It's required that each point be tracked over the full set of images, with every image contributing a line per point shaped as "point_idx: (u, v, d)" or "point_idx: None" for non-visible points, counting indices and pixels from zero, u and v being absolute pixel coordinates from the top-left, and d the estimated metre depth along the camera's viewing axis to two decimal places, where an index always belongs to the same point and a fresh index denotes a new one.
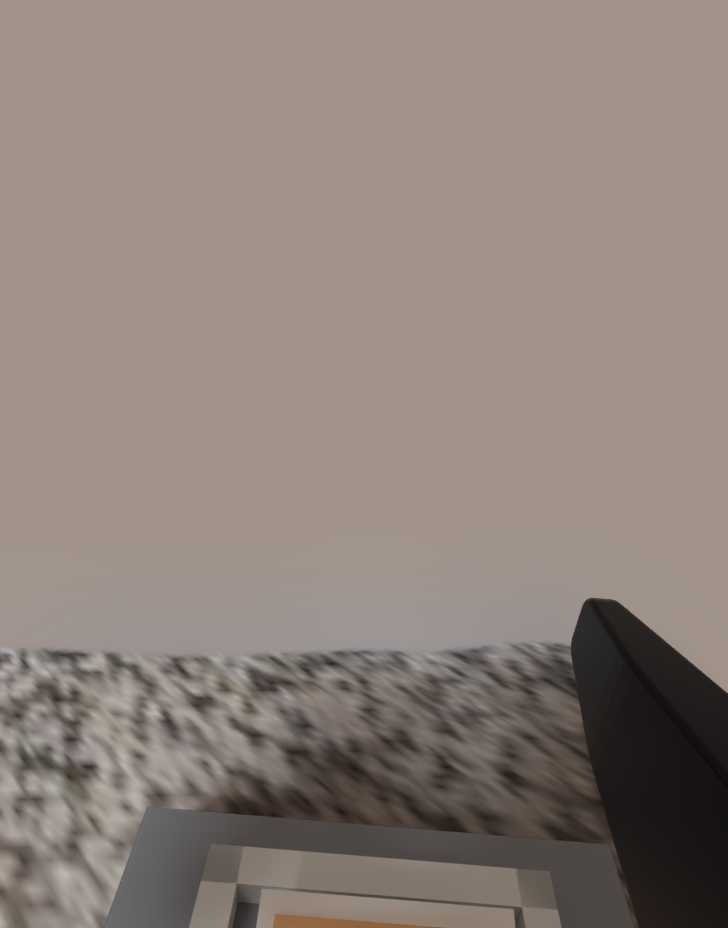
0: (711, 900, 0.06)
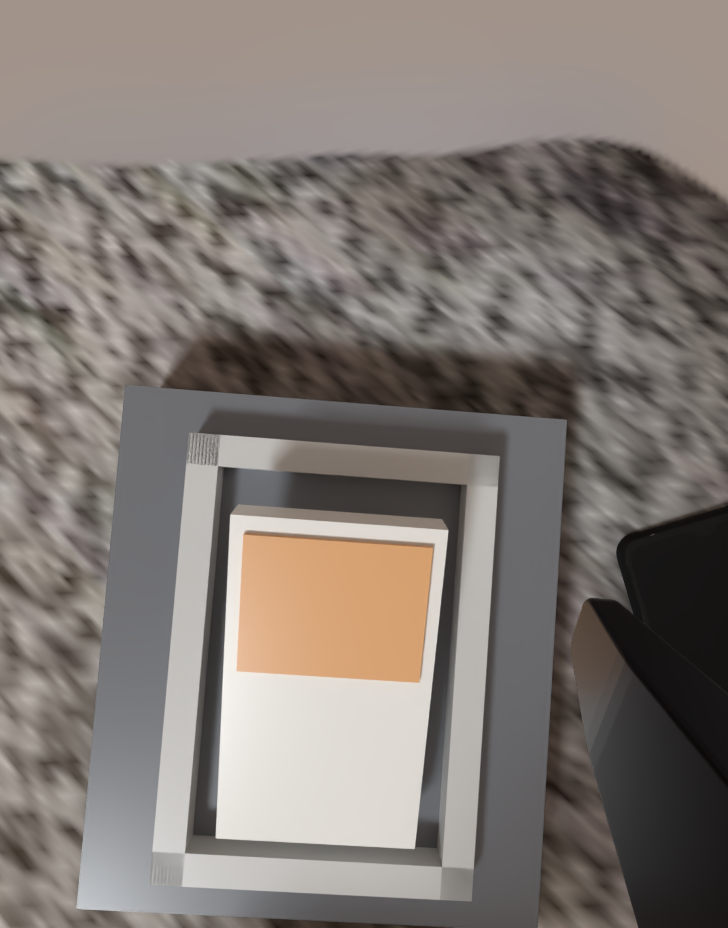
0: (711, 900, 0.06)
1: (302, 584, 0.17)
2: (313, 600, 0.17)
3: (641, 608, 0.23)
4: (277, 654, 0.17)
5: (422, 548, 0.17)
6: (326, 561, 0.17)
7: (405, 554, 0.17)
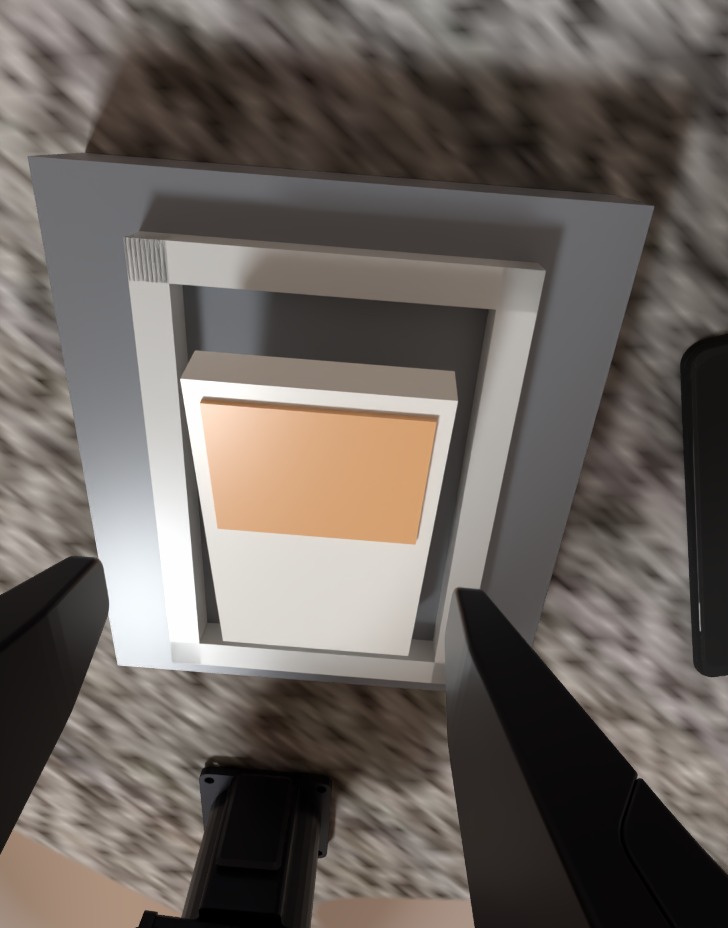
0: (511, 883, 0.06)
1: (278, 455, 0.14)
2: (293, 470, 0.14)
3: (694, 425, 0.20)
4: (259, 516, 0.15)
5: (423, 421, 0.13)
6: (304, 433, 0.14)
7: (401, 428, 0.13)
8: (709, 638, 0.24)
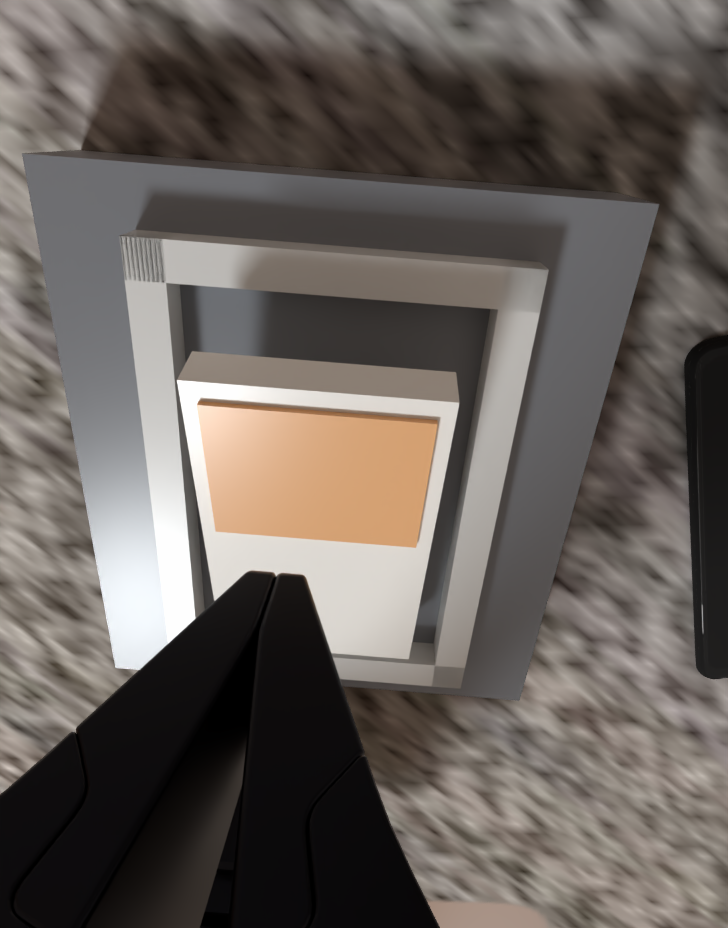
0: None
1: (277, 457, 0.14)
2: (292, 473, 0.14)
3: (698, 426, 0.20)
4: (257, 519, 0.15)
5: (424, 423, 0.13)
6: (303, 436, 0.13)
7: (402, 430, 0.13)
8: (713, 640, 0.24)
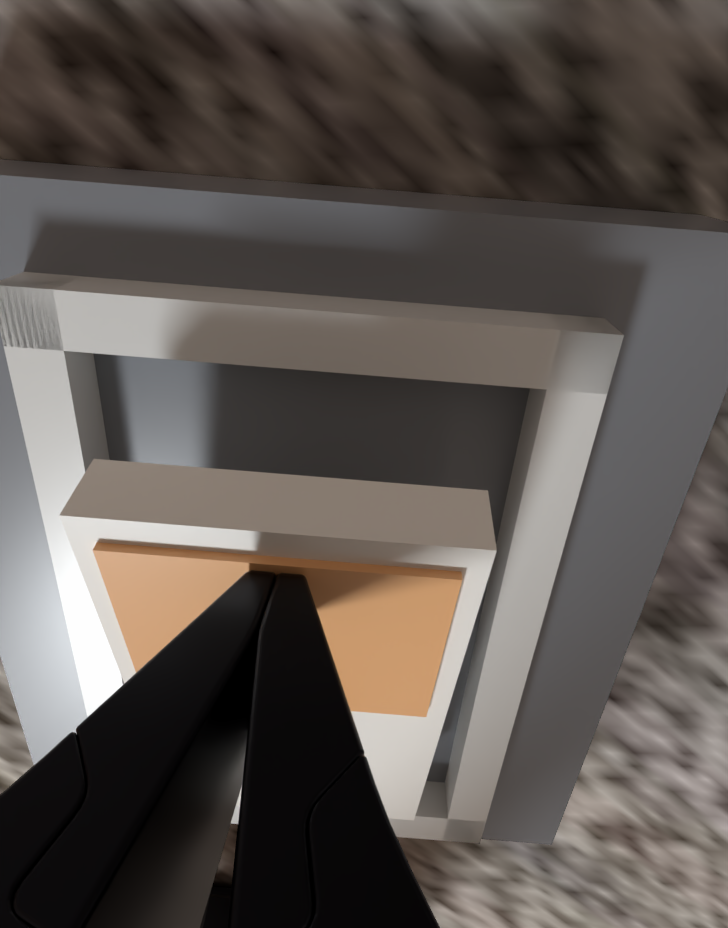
0: None
1: None
2: None
3: None
4: None
5: (441, 576, 0.09)
6: None
7: (407, 586, 0.09)
8: None
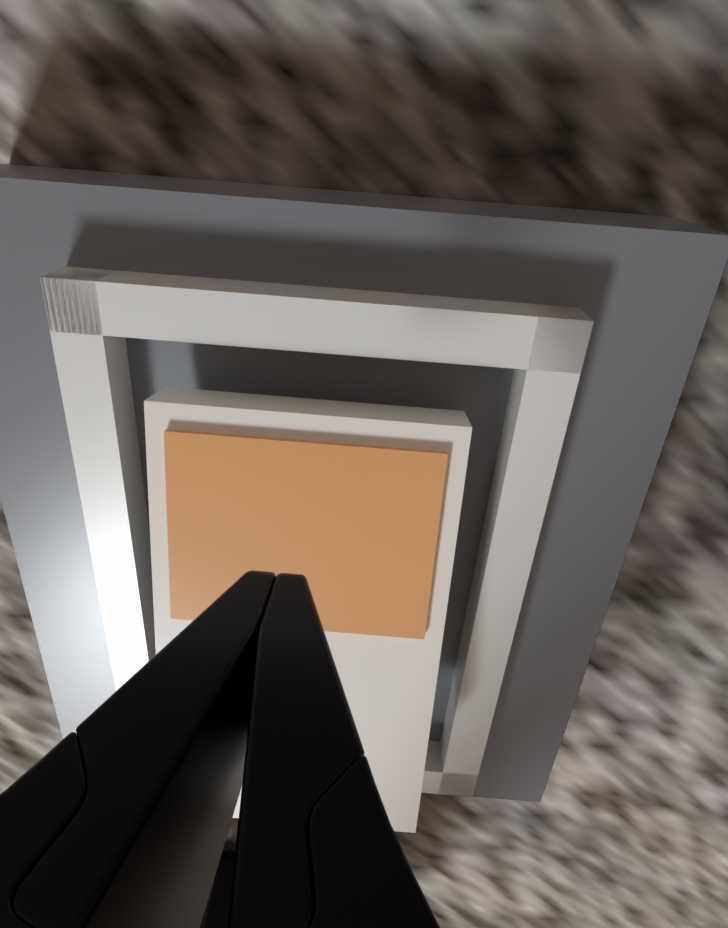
0: None
1: (255, 504, 0.11)
2: (272, 526, 0.12)
3: None
4: None
5: (432, 454, 0.11)
6: (288, 472, 0.11)
7: (405, 462, 0.11)
8: None
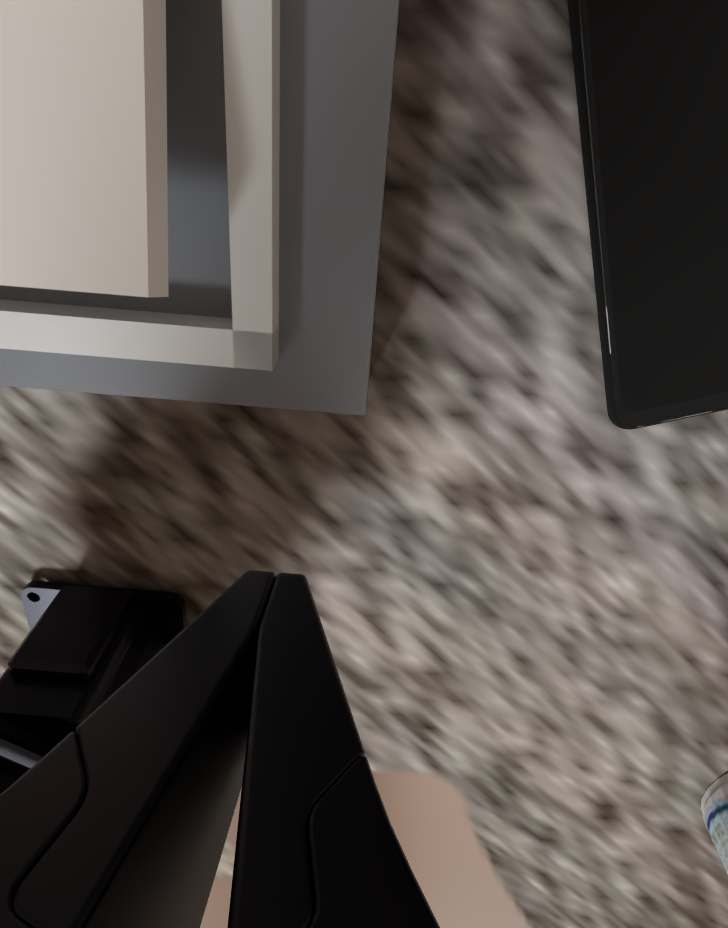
0: None
1: None
2: None
3: None
4: None
5: None
6: None
7: None
8: (623, 365, 0.19)
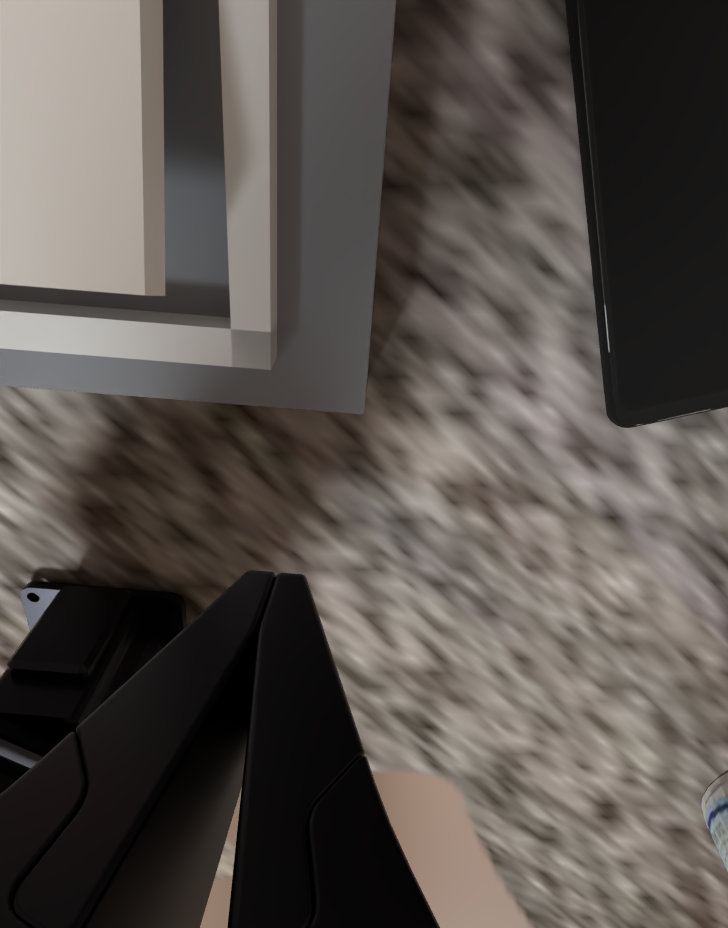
0: None
1: None
2: None
3: None
4: None
5: None
6: None
7: None
8: (622, 363, 0.19)
